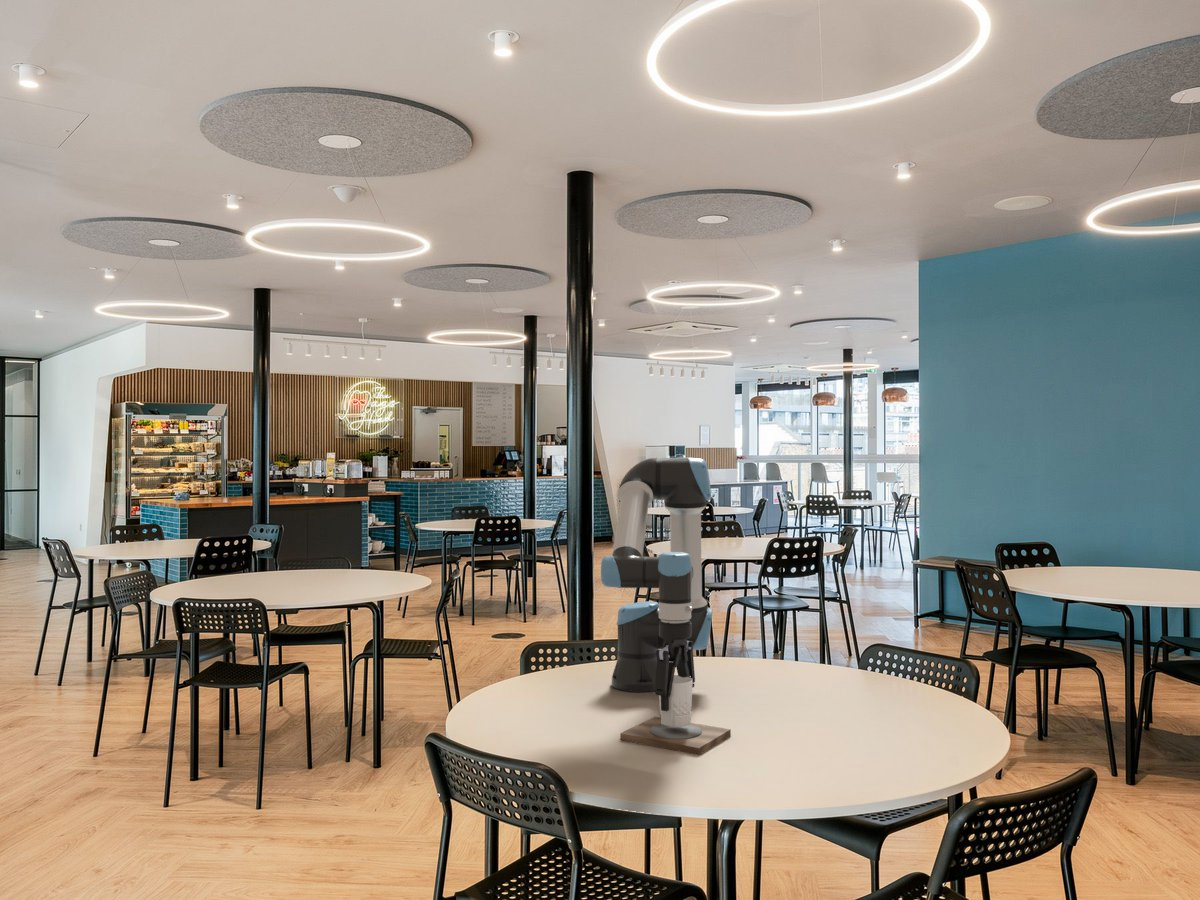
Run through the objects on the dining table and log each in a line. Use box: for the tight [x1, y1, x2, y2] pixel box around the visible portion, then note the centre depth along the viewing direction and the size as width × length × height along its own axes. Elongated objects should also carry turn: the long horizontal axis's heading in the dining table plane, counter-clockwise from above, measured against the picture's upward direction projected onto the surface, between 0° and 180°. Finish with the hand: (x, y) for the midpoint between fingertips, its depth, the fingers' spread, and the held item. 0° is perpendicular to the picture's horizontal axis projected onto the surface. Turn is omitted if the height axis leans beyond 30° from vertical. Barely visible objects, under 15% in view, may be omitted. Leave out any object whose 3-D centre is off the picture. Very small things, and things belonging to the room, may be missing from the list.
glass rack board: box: [619, 716, 732, 756], centre depth 205 cm, size 16×20×2 cm
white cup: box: [658, 674, 693, 727], centre depth 205 cm, size 8×8×10 cm
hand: (675, 719), depth 205 cm, fingers closed on white cup, 8 cm apart
